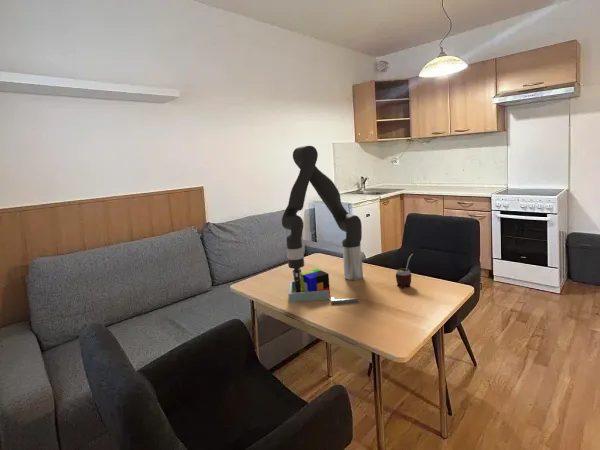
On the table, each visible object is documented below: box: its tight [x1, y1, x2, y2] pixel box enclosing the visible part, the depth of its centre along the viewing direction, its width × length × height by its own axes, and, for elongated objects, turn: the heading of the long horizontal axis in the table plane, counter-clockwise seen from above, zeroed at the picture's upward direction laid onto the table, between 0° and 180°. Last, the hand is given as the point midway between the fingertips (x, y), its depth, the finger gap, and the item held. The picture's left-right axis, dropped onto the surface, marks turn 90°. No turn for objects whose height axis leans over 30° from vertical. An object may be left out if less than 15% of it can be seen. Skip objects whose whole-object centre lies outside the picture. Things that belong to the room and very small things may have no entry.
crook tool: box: [330, 296, 360, 305], centre depth 169 cm, size 12×4×2 cm, turn 87°
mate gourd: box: [395, 253, 414, 289], centre depth 179 cm, size 8×8×15 cm
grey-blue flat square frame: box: [288, 280, 330, 303], centre depth 181 cm, size 18×17×4 cm
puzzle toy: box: [300, 268, 331, 295], centre depth 181 cm, size 10×10×10 cm
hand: (298, 289), depth 181 cm, fingers open, 8 cm apart
